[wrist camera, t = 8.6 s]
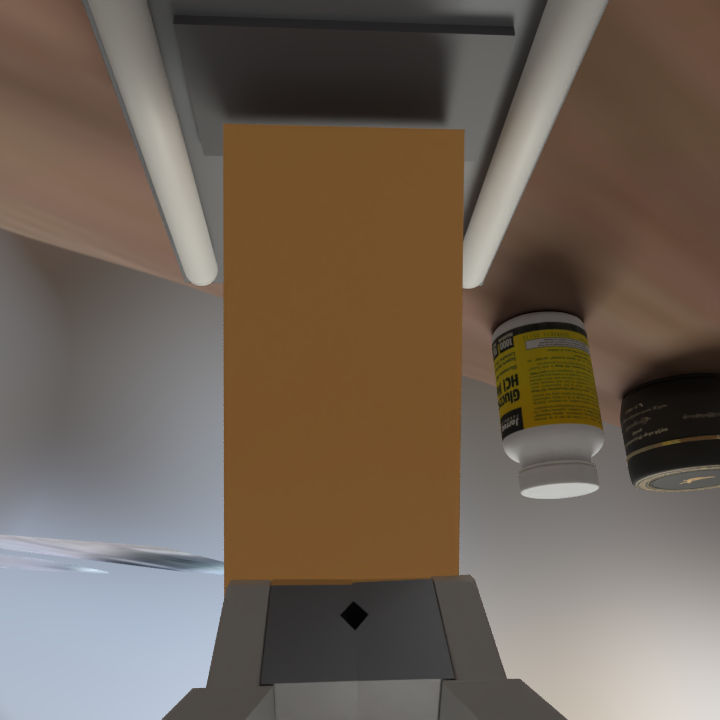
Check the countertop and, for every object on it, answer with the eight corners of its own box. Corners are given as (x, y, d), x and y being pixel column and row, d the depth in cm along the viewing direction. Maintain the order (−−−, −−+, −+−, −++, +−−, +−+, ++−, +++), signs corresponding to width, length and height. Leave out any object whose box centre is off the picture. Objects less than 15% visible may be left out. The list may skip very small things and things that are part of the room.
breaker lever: (464, 129, 16) (458, 599, 17) (448, 151, 18) (444, 571, 19) (223, 123, 16) (224, 603, 17) (233, 146, 18) (234, 574, 19)
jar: (594, 409, 60) (608, 493, 57) (654, 367, 51) (674, 463, 48) (694, 412, 62) (714, 494, 59) (770, 372, 53) (797, 465, 49)
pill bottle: (492, 311, 42) (512, 482, 38) (592, 303, 41) (624, 477, 37) (487, 351, 48) (504, 504, 43) (575, 345, 47) (601, 499, 43)
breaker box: (714, -620, 11) (850, -440, 8) (468, 169, 29) (484, 311, 26) (-18, -690, 10) (-152, -522, 8) (197, 163, 29) (182, 309, 26)
